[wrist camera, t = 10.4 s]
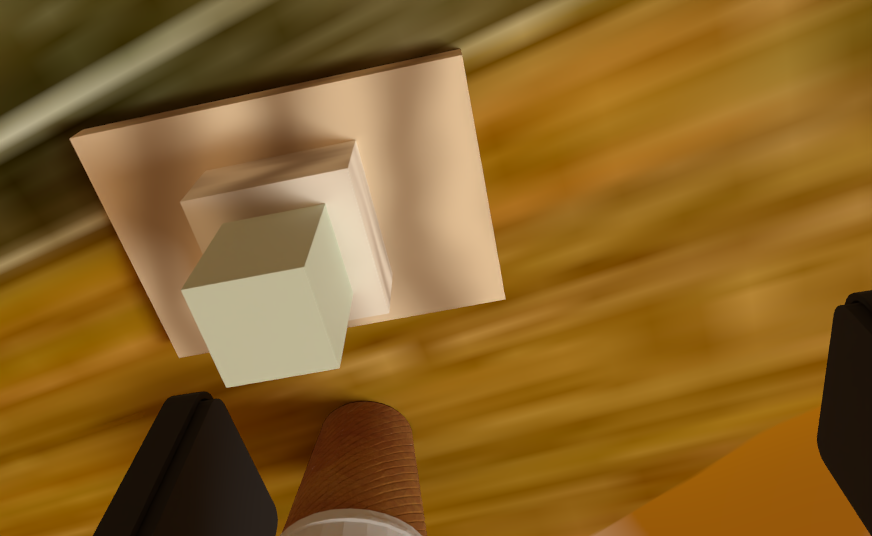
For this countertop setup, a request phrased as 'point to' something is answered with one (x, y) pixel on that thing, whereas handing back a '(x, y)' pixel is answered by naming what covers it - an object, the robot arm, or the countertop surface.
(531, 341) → the countertop surface
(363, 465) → the disposable coffee cup
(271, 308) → the sage block
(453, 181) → the stack base
